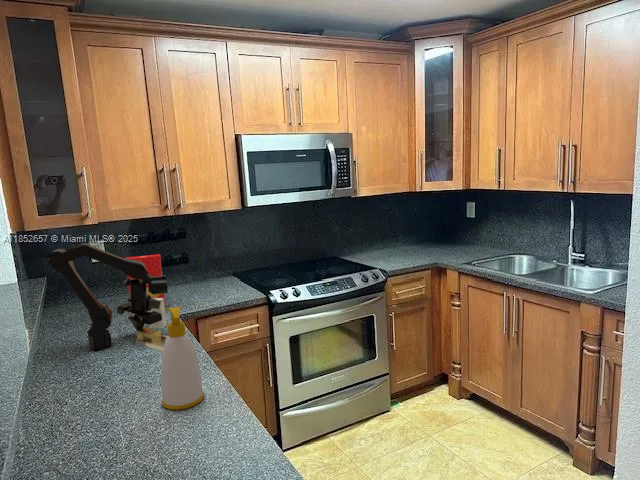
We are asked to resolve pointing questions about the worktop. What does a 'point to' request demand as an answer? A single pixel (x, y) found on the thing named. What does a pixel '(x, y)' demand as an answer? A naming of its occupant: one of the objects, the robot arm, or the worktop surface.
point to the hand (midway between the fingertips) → (140, 334)
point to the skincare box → (162, 311)
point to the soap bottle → (180, 367)
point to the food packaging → (150, 270)
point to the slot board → (152, 345)
